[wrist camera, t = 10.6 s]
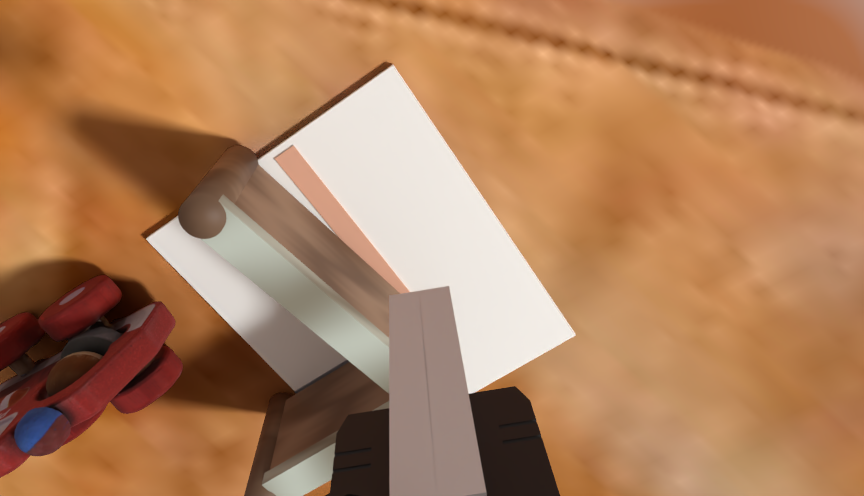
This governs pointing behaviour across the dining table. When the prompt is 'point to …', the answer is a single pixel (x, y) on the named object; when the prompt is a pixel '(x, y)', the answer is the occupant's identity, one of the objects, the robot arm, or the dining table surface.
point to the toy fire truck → (79, 369)
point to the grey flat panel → (293, 258)
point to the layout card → (385, 239)
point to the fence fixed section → (309, 432)
